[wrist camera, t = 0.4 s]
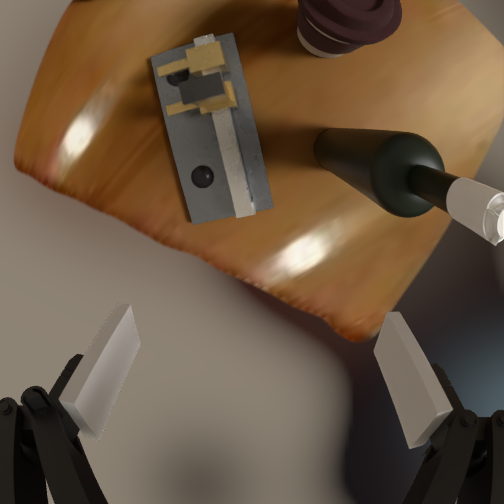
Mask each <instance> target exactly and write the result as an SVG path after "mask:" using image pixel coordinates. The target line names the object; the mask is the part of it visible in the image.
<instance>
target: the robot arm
mask: <svg viewBox="0 0 504 504" xmlns="http://www.w3.org/2000/svg"><path fill="white" fill-rule="evenodd" d="M140 345H141V344H140V341H139V337H138V333H137V329H136V325H135V321H134V317H133V313H132V309H131V305H129V304H119V303H118V304H117V305H116V307H115V308H114V310H113V311H112V313H111V314H110V316H109V317H108V319H107V320H106V322H105V323H104V325H103V326H102V328H101V329H100V331H99V333H98V334H97V335H96V337H95V339H94V340H93V342H92V343H91V345H90V347H89V348H88V350H87V352H86V353H85V355H81V354H77V355H75V356H74V357H73V358H72V359H70V360H69V362H68V363H67V365H66V367H65V369H64V370H63V371H62V373H61V376H59V378H58V379H57V381H56V383H55V384H54V386H53V388H52V389H51V391H50V393H49V395H48V394H47V392H46V391H45V390H44V389H43V388H42V387H39V386H32V387H30V388H28V389H26V390H25V391H24V392H23V394H22V396H21V403H22V404H23V406H22V405H18V404H17V403H16V401H15V400H14V399H12V398H9V397H6V398H3V399H1V400H0V504H48V498H47V488H46V481H47V484H48V487H49V490H50V492H51V495H52V497H53V500H54V503H55V504H108V502H107V500H106V498H105V497H104V494H103V493H102V491H101V489H100V486H99V484H98V482H97V480H96V478H95V476H94V473H93V471H92V469H91V467H90V464H89V462H88V460H87V457H86V455H85V452H84V450H83V447H82V444H81V442H80V439H79V438H78V436H77V435H78V432H79V430H81V432H82V433H83V435H84V436H85V437H88V438H92V439H95V440H98V441H99V440H100V438H101V435H102V433H103V430H104V428H105V425H106V423H107V420H108V418H109V415H110V413H111V410H112V408H113V406H114V403H115V401H116V399H117V396H118V394H119V391H120V389H121V387H122V385H123V382H124V380H125V378H126V375H127V373H128V371H129V368H130V366H131V364H132V362H133V360H134V358H135V355H136V353H137V351H138V349H139V347H140ZM374 354H375V356H376V359H377V361H378V363H379V366H380V369H381V371H382V373H383V376H384V379H385V381H386V384H387V387H388V389H389V392H390V395H391V397H392V400H393V403H394V405H395V408H396V411H397V414H398V417H399V419H400V422H401V425H402V428H403V431H404V434H405V437H406V440H407V443H408V446H409V449H410V448H414V447H418V446H422V445H424V444H425V443H426V442H427V440H428V439H429V438H430V440H431V443H432V444H431V445H430V446H429V447H428V448H427V449H426V450H425V451H424V452H423V454H422V456H424V455H425V454H426V455H425V457H424V460H423V462H422V464H421V466H420V468H419V470H418V473H417V475H416V477H415V479H414V481H413V483H412V485H411V487H410V489H409V490H408V492H407V494H406V496H405V498H404V500H403V501H402V503H401V504H455V502H456V500H457V504H504V410H497V411H496V412H494V414H493V415H492V416H491V417H477V415H476V414H475V413H474V412H472V411H470V410H466V409H464V407H463V406H462V404H461V401H460V400H459V398H458V396H457V394H456V392H455V390H454V388H453V386H451V383H450V381H449V380H448V377H447V375H446V374H445V372H444V370H443V369H442V368H441V367H439V366H438V364H436V363H435V364H429V362H428V360H427V358H426V357H425V355H424V353H423V351H422V349H421V348H420V346H419V344H418V343H417V341H416V339H415V337H414V336H413V334H412V332H411V331H410V329H409V327H408V325H407V324H406V322H405V321H404V319H403V317H402V315H401V314H400V312H387V313H386V316H385V319H384V322H383V325H382V328H381V331H380V334H379V337H378V340H377V343H376V346H375V348H374ZM457 497H458V499H457Z"/></svg>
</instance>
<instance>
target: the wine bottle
mask: <svg viewBox="0 0 504 504" xmlns="http://www.w3.org/2000/svg"><path fill="white" fill-rule="evenodd" d="M314 153H315V157H316V159H317V161H318V162H319V164H320V165H321V166H322V167H324V168H325V169H327V170H328V171H330V172H331V173H333V174H335V175H336V176H338V177H339V178H341V179H342V180H344V181H345V182H346V183H348V184H349V185H351V186H352V187H354V188H355V189H357V190H358V191H360V192H361V193H362V194H364V195H365V196H367V197H368V198H369V199H371V200H372V201H374V202H375V203H376V204H378V205H379V206H380V207H382V208H383V209H385V210H386V211H387V212H389V213H391V214H393V215H396V216H399V217H405V218H411V217H417V216H420V215H422V214H424V213H426V212H428V211H429V210H430V209H432V208H433V207H434V206H436V207H438V208H440V209H442V210H443V211H445V212H447V213H449V214H450V216H451V217H452V218H453V219H455V220H457V221H458V222H460V223H462V224H463V225H465V226H466V227H468V228H470V229H471V230H473V231H474V232H476V233H477V234H479V235H480V236H482V237H483V238H485V239H486V240H488V241H489V242H491V243H492V244H494V245H495V246H496V245H497V243H498V242H500V241H502V240H503V239H504V193H503V192H501V191H499V190H496V189H494V188H491V187H489V186H487V185H484V184H481V183H479V182H476V181H474V180H471V179H468V178H464V177H463V178H460V177H457V176H454V175H452V174H449V173H446V172H445V168H444V164H443V161H442V158H441V156H440V154H439V152H438V151H437V149H436V148H435V147H434V146H433V145H432V144H431V143H430V142H429V141H428V140H427V139H425V138H424V137H422V136H420V135H418V134H415V133H410V132H401V131H388V130H372V129H348V128H331V129H327V130H325V131H323V132H322V133H321V134H320V135H319V136H318V137H317V139H316V141H315V145H314Z"/></svg>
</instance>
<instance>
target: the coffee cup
mask: <svg viewBox="0 0 504 504" xmlns="http://www.w3.org/2000/svg"><path fill="white" fill-rule="evenodd" d="M298 3H299V6H298V14H297V25H298V27H297V34H298V38H299V40H300V42H301V44H302V45H303V46H304V47H305V48H306V49H307V50H308V51H309V52H311V53H312V54H315V55H317V56H320V57H324V58H335V57H339V56H341V55H343V54H346V53H350V52H352V51H354V50H356V49H358V48H360V47H362V46H364V45H368V44H374V43H377V42H380V41H382V40H384V39H386V38H387V37H389V36H390V35H392V34H393V33H394V32H395V31H396V30H397V29H398V27H399V25H400V22H401V19H402V8H401V3H400V0H298Z"/></svg>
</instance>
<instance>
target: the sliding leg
mask: <svg viewBox="0 0 504 504" xmlns="http://www.w3.org/2000/svg"><path fill="white" fill-rule="evenodd" d="M178 86H179V90H180V95H181V99H182V101H181V102H178V103H175V104H171V105H168V106H166V110H167V114H168V116H173V115H176V114H179V113H187V112H188V111H189V110H192V109H196V108H200V112H201V115H205V116H206V115H210V113H211V112H215V111H219V110H223V109H227V108H233V109H234V108H238V104H237V100H236V96H235V92H234V88H233V84H232V83H231V81H225V82H223V80H222V77H221V73H220V72H216V73H212V74H208V75H204V76H201V77H197V78H194V79H190V80H187V81H184V82H181V83H178Z"/></svg>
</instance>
